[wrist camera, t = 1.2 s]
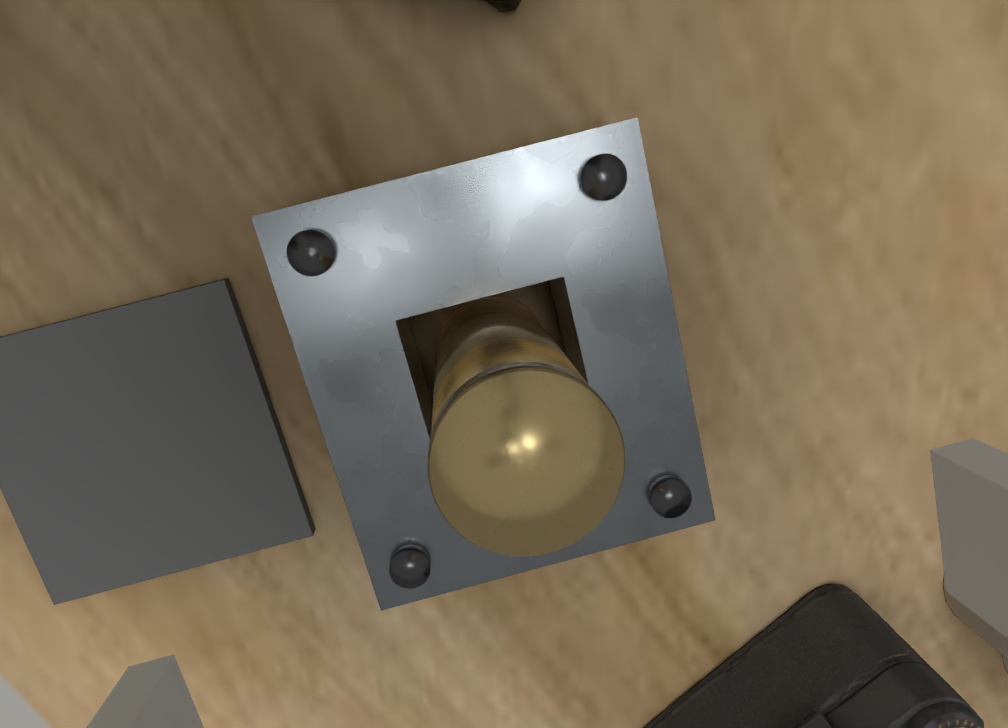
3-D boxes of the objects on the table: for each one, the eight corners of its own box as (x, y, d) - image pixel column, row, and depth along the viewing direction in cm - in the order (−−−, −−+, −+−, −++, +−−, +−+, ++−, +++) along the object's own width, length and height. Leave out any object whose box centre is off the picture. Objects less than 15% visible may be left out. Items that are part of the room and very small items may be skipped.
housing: (282, 213, 30) (245, 217, 24) (606, 130, 30) (642, 115, 25) (390, 550, 33) (379, 619, 28) (676, 473, 34) (720, 526, 28)
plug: (421, 311, 31) (403, 399, 17) (534, 282, 31) (603, 346, 18) (451, 419, 32) (456, 579, 19) (560, 390, 32) (643, 529, 19)
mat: (-52, 350, 30) (-62, 353, 29) (228, 278, 30) (224, 280, 29) (60, 597, 33) (53, 604, 32) (315, 529, 33) (313, 535, 32)
